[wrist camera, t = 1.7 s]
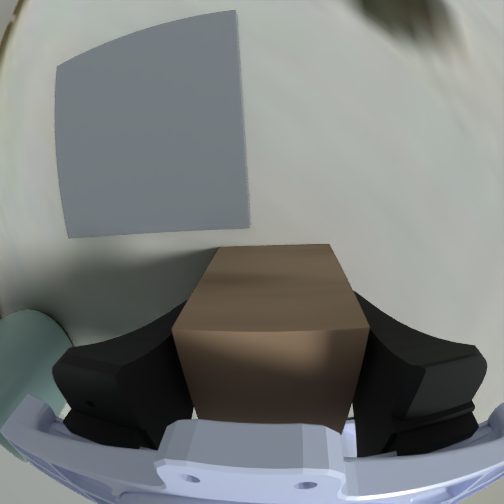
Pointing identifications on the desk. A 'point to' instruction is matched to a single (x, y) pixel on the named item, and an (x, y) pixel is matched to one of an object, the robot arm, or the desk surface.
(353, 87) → the desk surface
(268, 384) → the walnut block
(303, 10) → the desk surface
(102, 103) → the slate coaster
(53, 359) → the cup
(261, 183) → the desk surface
